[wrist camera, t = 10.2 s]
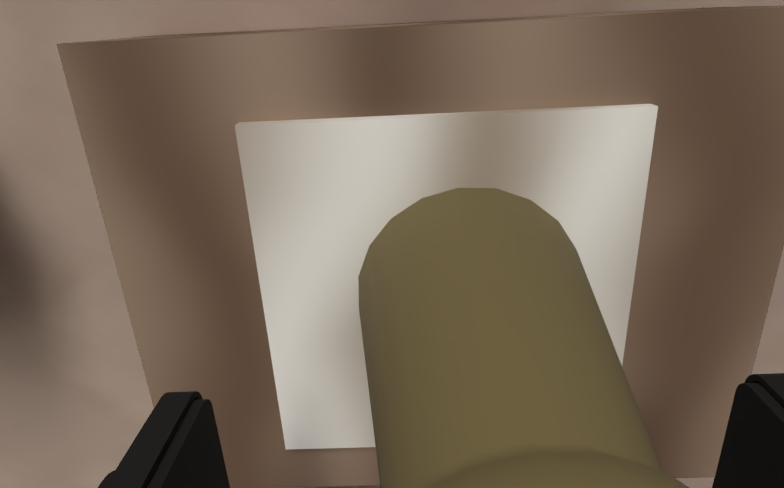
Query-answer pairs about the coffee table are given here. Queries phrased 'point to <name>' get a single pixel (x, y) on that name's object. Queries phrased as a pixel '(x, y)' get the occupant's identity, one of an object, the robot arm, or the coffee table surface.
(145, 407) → the coffee table surface
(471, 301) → the cork
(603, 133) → the pedestal
